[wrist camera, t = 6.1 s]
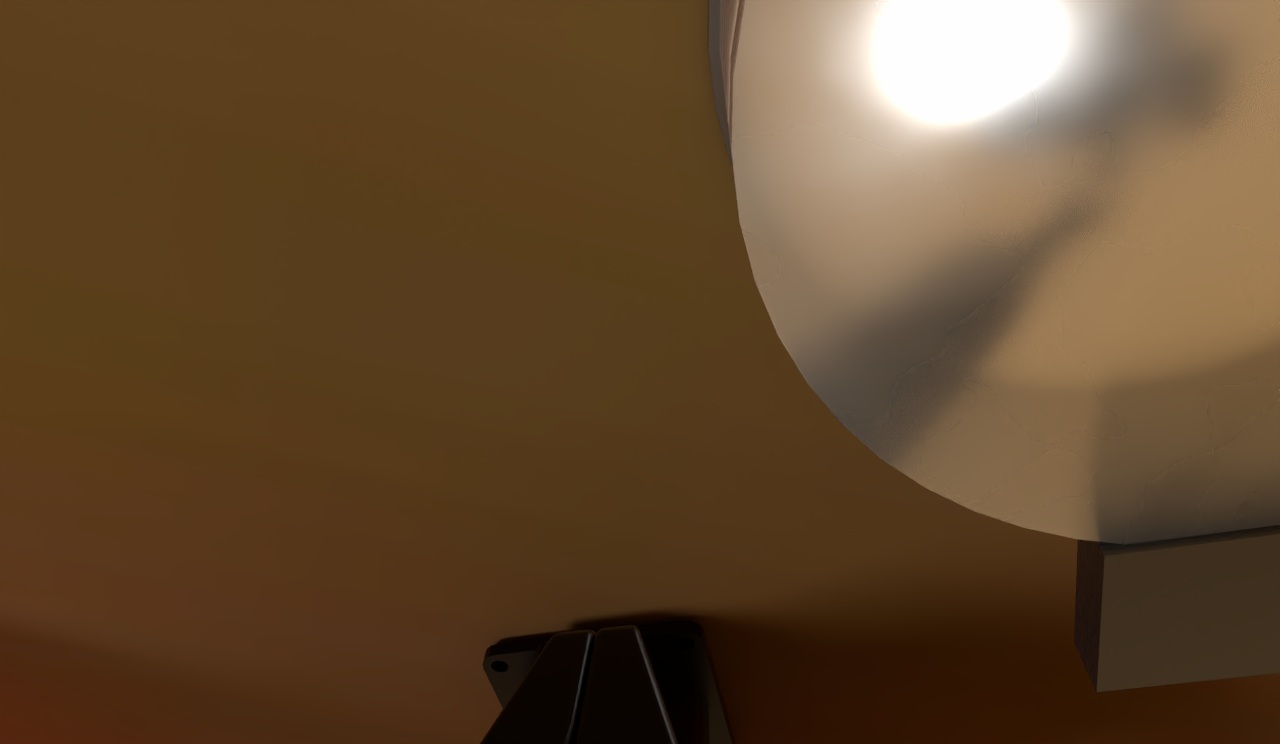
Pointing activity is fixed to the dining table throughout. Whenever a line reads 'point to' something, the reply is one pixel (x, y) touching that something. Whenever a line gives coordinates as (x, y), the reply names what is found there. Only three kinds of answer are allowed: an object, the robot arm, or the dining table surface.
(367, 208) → the dining table surface
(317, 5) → the dining table surface
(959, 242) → the lid
